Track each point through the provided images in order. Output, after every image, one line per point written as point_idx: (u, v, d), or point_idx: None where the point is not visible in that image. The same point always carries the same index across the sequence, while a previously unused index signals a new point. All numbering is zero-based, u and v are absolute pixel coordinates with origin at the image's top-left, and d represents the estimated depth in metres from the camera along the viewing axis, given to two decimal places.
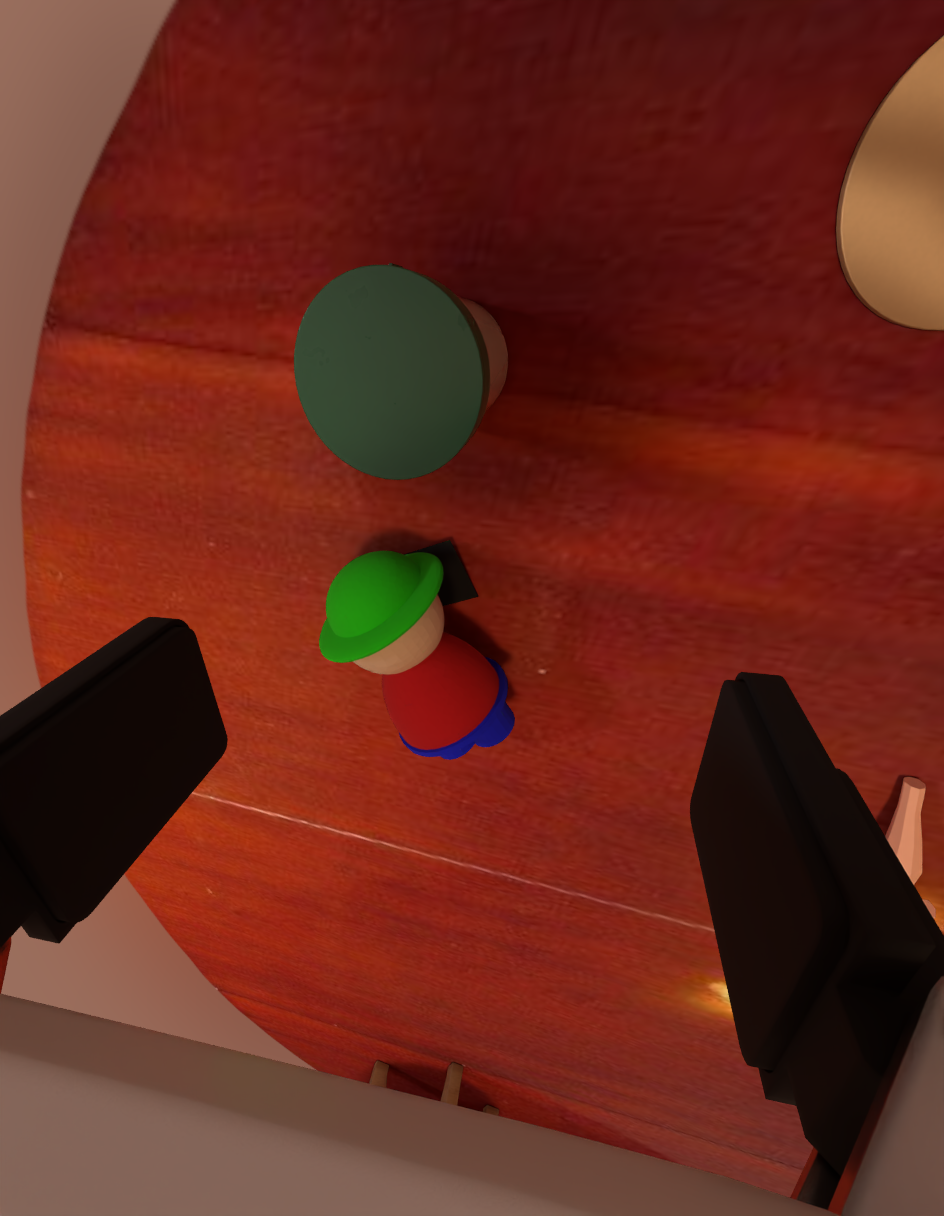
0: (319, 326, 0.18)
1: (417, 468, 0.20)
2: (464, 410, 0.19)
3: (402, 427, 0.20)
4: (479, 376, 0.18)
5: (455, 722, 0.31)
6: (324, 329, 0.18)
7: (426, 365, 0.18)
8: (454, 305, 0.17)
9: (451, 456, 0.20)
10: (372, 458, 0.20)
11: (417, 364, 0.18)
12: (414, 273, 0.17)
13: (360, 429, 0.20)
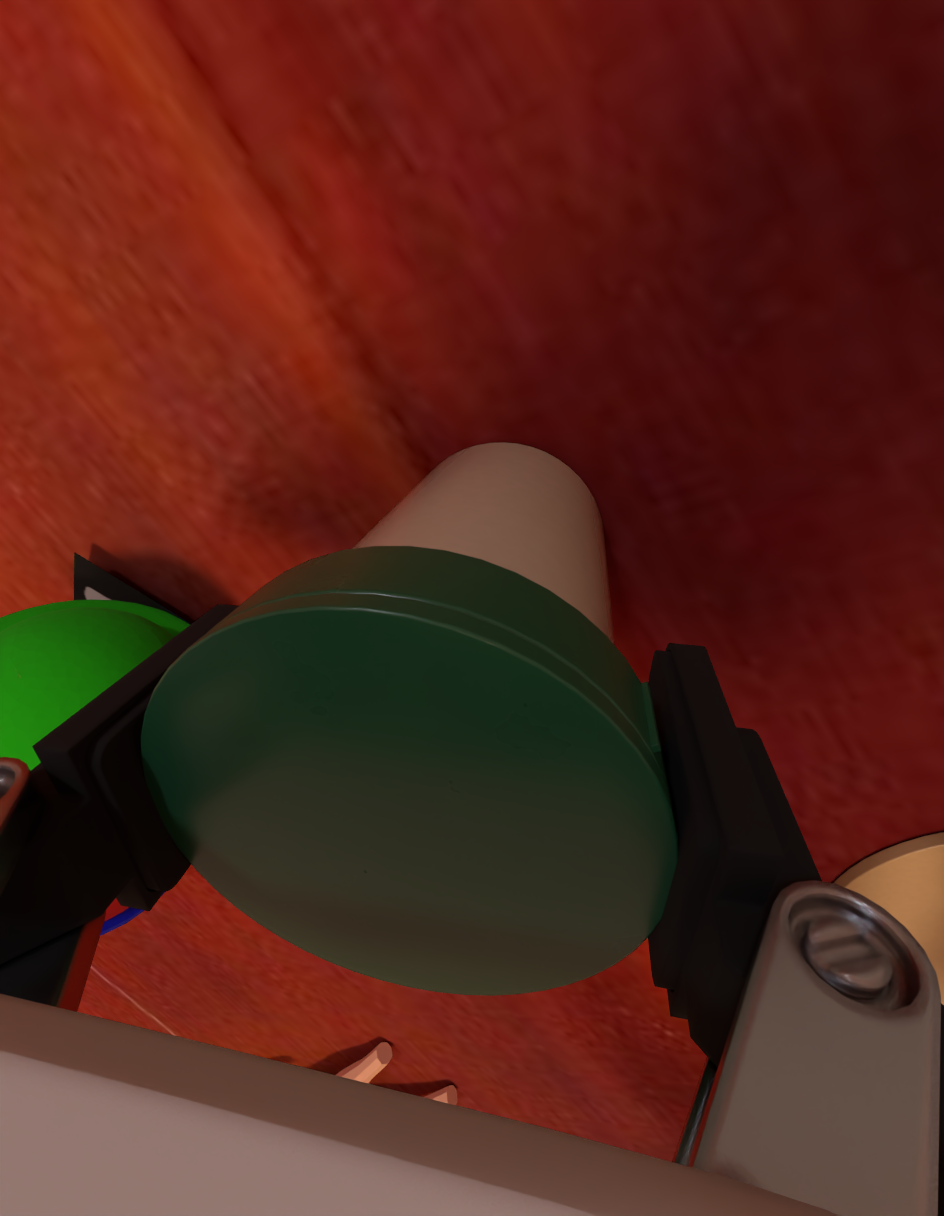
0: (379, 664, 0.05)
1: (290, 932, 0.08)
2: (463, 977, 0.08)
3: (334, 894, 0.08)
4: (544, 985, 0.08)
5: None
6: (383, 679, 0.06)
7: (491, 906, 0.07)
8: (653, 925, 0.07)
9: None
10: (222, 859, 0.08)
11: (479, 891, 0.07)
12: (675, 839, 0.06)
13: (249, 823, 0.07)
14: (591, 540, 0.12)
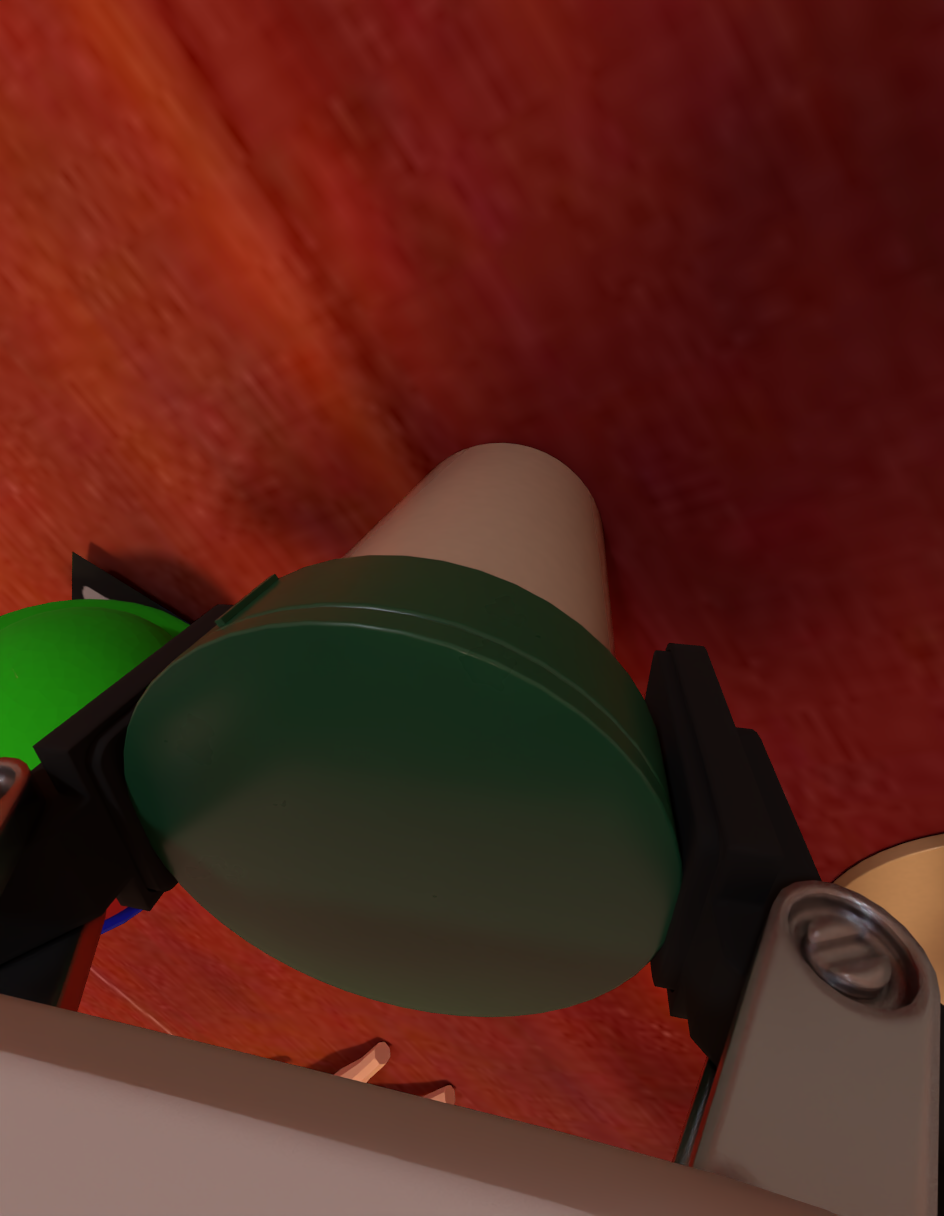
0: (176, 824, 0.07)
1: (576, 988, 0.07)
2: (629, 857, 0.06)
3: (485, 930, 0.07)
4: (626, 772, 0.05)
5: None
6: (189, 825, 0.07)
7: (454, 804, 0.06)
8: (431, 643, 0.05)
9: (654, 952, 0.06)
10: (458, 993, 0.08)
11: (430, 810, 0.06)
12: (272, 626, 0.05)
13: (395, 956, 0.08)
14: (591, 541, 0.11)
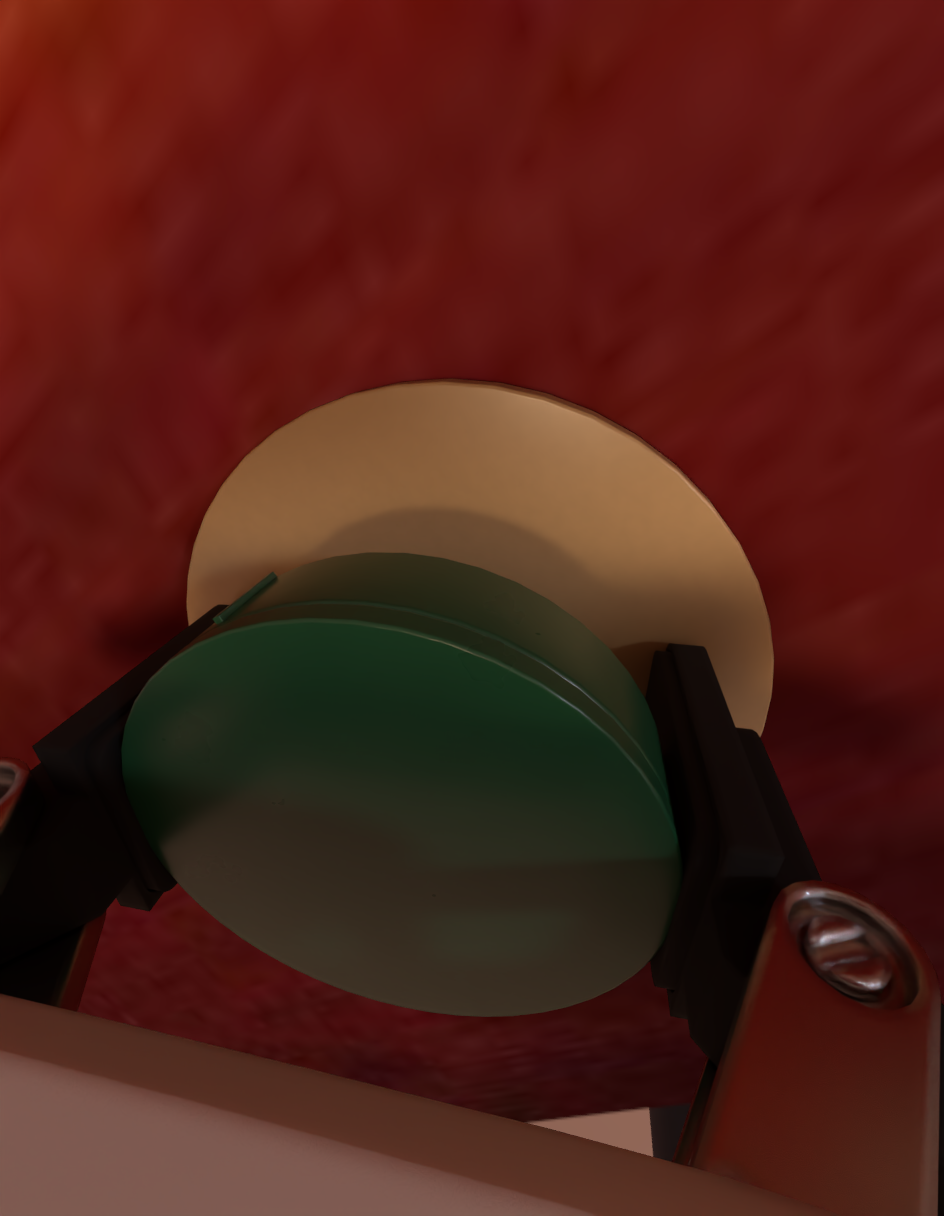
0: (174, 822, 0.07)
1: (576, 987, 0.07)
2: (629, 855, 0.06)
3: (484, 930, 0.07)
4: (627, 769, 0.05)
5: None
6: (187, 823, 0.07)
7: (454, 802, 0.06)
8: (430, 640, 0.05)
9: (654, 951, 0.06)
10: (458, 992, 0.08)
11: (429, 808, 0.06)
12: (270, 623, 0.05)
13: (395, 955, 0.08)
14: None
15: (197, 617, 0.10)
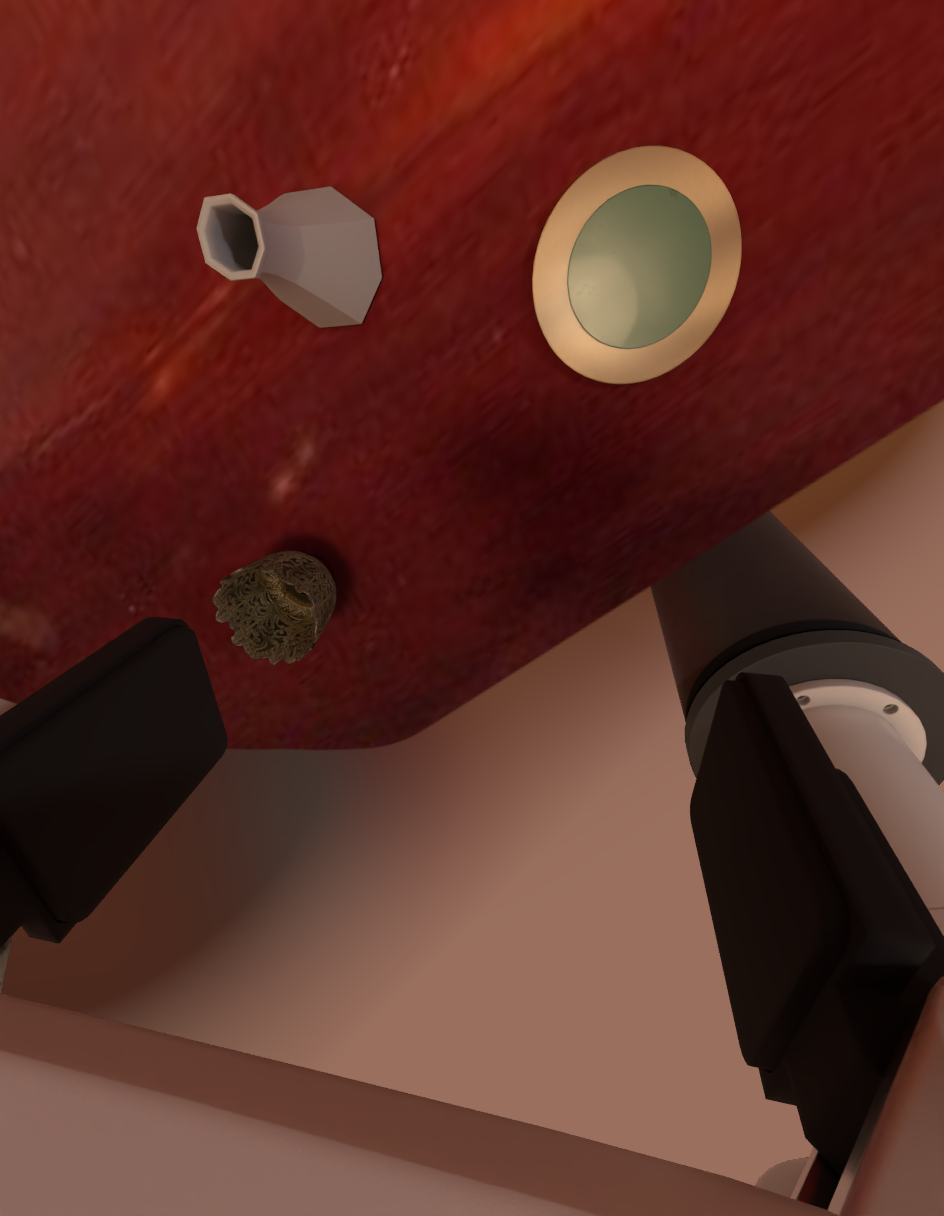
0: (580, 270, 0.27)
1: (683, 314, 0.27)
2: (699, 248, 0.26)
3: (660, 293, 0.27)
4: (700, 218, 0.25)
5: None
6: (584, 269, 0.27)
7: (660, 239, 0.26)
8: (663, 187, 0.25)
9: (704, 287, 0.27)
10: (648, 331, 0.28)
11: (654, 243, 0.26)
12: (628, 189, 0.25)
13: (632, 317, 0.28)
14: None
15: (540, 252, 0.29)
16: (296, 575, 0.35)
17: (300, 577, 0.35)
